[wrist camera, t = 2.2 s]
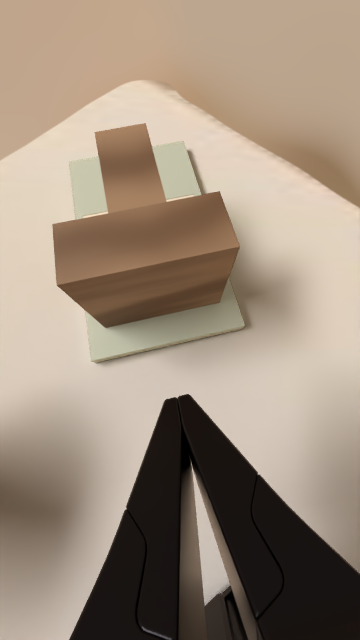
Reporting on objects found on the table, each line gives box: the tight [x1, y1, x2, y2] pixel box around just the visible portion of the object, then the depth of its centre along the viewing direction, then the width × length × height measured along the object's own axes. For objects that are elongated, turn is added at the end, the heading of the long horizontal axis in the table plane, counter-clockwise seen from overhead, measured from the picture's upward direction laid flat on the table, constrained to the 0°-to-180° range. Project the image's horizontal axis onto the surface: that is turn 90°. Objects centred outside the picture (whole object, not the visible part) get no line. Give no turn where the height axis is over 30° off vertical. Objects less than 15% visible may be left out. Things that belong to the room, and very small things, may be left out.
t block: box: [52, 123, 240, 328], centre depth 18 cm, size 11×10×8 cm
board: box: [69, 141, 245, 363], centre depth 24 cm, size 22×13×1 cm, turn 13°
